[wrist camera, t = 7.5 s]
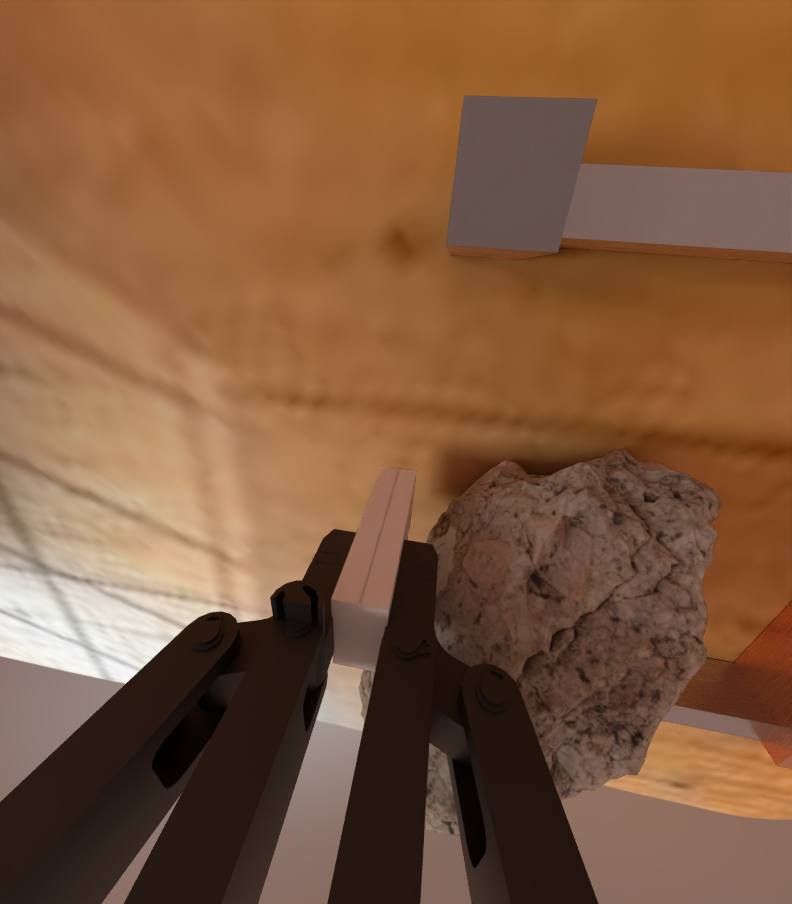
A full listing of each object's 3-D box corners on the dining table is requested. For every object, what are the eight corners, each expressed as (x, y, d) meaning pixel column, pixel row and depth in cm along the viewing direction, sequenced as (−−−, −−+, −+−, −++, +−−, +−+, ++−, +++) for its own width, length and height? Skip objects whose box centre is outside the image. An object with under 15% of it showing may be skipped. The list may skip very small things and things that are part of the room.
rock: (649, 344, 7) (1039, 657, 6) (553, 390, 17) (688, 506, 16) (262, 711, 10) (458, 949, 9) (374, 567, 20) (474, 672, 19)
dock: (403, 623, 22) (390, 712, 17) (460, 167, 11) (464, 95, 6) (743, 687, 20) (825, 806, 15) (1243, 204, 9) (2040, 134, 4)
